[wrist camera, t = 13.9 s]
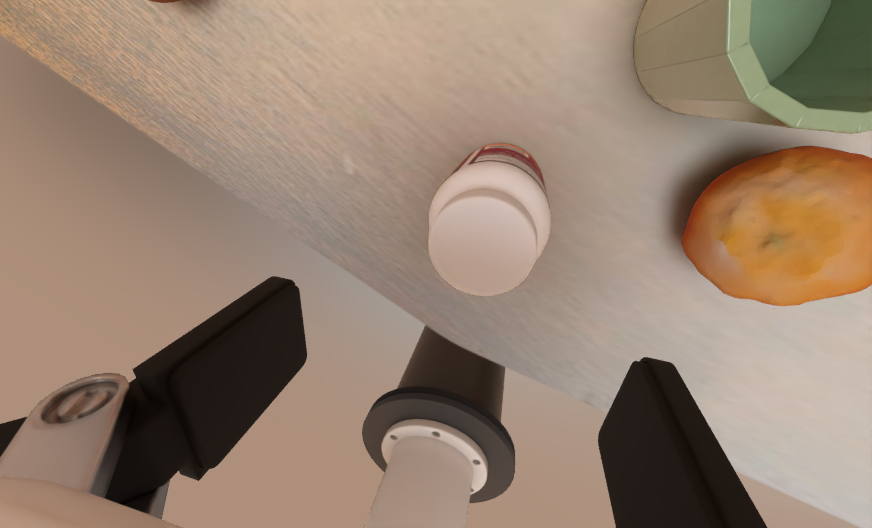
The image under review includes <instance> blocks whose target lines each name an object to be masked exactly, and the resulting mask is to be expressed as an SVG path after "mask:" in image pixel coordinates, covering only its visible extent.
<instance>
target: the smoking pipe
mask: <svg viewBox="0 0 872 528" xmlns="http://www.w3.org/2000/svg"><path fill="white" fill-rule="evenodd" d="M150 1H154V2H160V3H167V2H176V1H179V0H150Z"/></svg>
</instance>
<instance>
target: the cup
mask: <svg viewBox="0 0 872 528" xmlns="http://www.w3.org/2000/svg"><path fill="white" fill-rule="evenodd" d="M634 62H635V68H636V72H637V75H638V78H639V80H640V82H641V84H642V86H643V88H644V89H645V91H646V92H647V94H648V95H649V96H650V97H651V98H652V99H653V100H654V101H656V102H657V103H659V104H660V105H661V106H663V107H665V108H667V109H669V110H672V111H675V112H677V113H680V114H686V115H694V116H702V117H710V118H718V119H726V120H734V121H742V122H750V123H758V124H765V125H773V126H781V127H789V128H798V129H809V130H819V131H830V132H840V133H851V134H852V133H861V132H866V131H870V130H872V0H647V1H646V3H645V5H644V7H643V10H642V12H641V15H640V18H639V21H638V25H637V29H636V33H635V40H634Z"/></svg>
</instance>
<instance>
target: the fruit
mask: <svg viewBox="0 0 872 528" xmlns="http://www.w3.org/2000/svg"><path fill="white" fill-rule="evenodd" d="M682 246H683V249H684V252H685V254H686V256H687V257H688V258H689V259H690V260H691V261H692V263H693V264H694V266H695V267H696V268H697V270H698V271H699V272H700V273H701V274H702V275H703V276H705V277H706V278H707V279H708V280H710V281H711V282H712V283H713V284H714V285H715V286H717V287H718V288H719V289H720V290H721V291H722V292H723V293H725V294H727V295H730V296H732V297H735V298H741V299H752V300H757V301H759V302H762V303H766V304H770V305H777V306H787V305H800V304H803V303H805V302H809V301H814V300H819V299H824V298H830V297H836V296H841V295H846V294H850V293H855V292H858V291H861V290H863V289H865V288H867V287H869V286H870V285H871V284H872V158H869V157H867V156H864V155H861V154H854V153H848V152H844V151H839V150H835V149H830V148H824V147H816V146H801V147H795V148H789V149H784V150H780V151H776V152H773V153H769V154H766V155H762V156H759V157H756V158H753V159H750V160H748V161H746V162H744V163H742V164H740V165H738V166H736V167H734V168H732V169H730V170H728V171H726V172H724V173H723V174H721V175H720V176H718V177H717V178H716V179H715V180H713V181H712V182H711V183H710V184H709V185H708V187H707V188H706V189H705V190H704V191H703V192H702V194H701V195H700V196H699V198H698V199H697V201H696V202H695V204H694V206H693V208H692V210H691V212H690V216H689V219H688V222H687V225H686V228H685V231H684V233H683V237H682Z"/></svg>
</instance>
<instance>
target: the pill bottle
mask: <svg viewBox="0 0 872 528" xmlns="http://www.w3.org/2000/svg"><path fill="white" fill-rule="evenodd" d="M550 230H551V213H550V207H549V203H548V198H547V194H546V189H545V185H544V180H543V176H542V173H541V170H540V168H539V166H538V164H537V163H536V161H535V160H534V159H533V158H532V157H531V156H530V155H529V154H528V153H527V152H526V151H524V150H522V149H521V148H519V147H516V146H513V145H510V144H502V143H498V144H491V145H487V146H484V147H482V148H480V149H478V150H476V151H474V152H473V153H471V154H470V155H469V156H468V157H467V158H466V159H465V160H464V161H463V162H462V163H461V164H460V165H459V166H458V168H457V169H456V170H455V171H454V172H453V173H452V174H451V175H450V176H449V177H448V178H447V179H446V180H445V182H444V183H443V184H442V185H441V187H440V188H439V190H438V191H437V193H436V195H435V197H434V199H433V201H432V204H431V208H430V212H429V231H430V232H429V237H428V249H429V255H430V258H431V261H432V263H433V266H434V267H435V269H436V271H437V272H438V273H439V275H440V276H441V277H442V278H443V279H444V280H445V281H446V282H447V283H449V284H450V285H451V286H453V287H454V288H456V289H458V290H460V291H462V292H465V293H468V294H472V295H478V296H492V295H498V294H502V293H505V292H507V291H509V290H511V289H513V288H515V287H516V286H518V285H519V284H520V283H521V282H522V281H524V279H525V278H526V277H527V276H528V274H529V273H530V271H531V270H532V268H533V266H534V263H535V261H536V260H537V258H538V257H539V256H540V255H541V253H542V252H543V250H544V248H545V246H546V244H547V242H548V238H549V235H550Z"/></svg>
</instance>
